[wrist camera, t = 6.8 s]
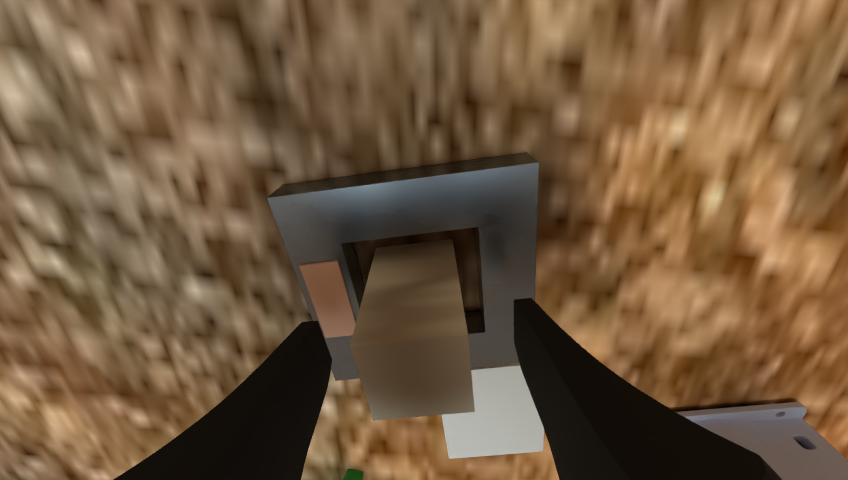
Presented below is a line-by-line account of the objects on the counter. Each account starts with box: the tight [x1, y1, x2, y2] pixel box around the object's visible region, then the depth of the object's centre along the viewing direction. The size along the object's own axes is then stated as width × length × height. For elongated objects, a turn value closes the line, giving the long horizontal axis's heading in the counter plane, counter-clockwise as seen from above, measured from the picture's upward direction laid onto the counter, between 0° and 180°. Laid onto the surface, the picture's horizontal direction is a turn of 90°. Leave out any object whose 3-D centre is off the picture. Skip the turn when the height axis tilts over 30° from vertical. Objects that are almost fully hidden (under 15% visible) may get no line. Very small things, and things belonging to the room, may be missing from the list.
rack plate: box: [267, 153, 539, 380], centre depth 15 cm, size 10×10×2 cm
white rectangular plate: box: [442, 363, 544, 459], centre depth 20 cm, size 6×8×1 cm
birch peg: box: [350, 239, 475, 420], centre depth 13 cm, size 4×4×6 cm
